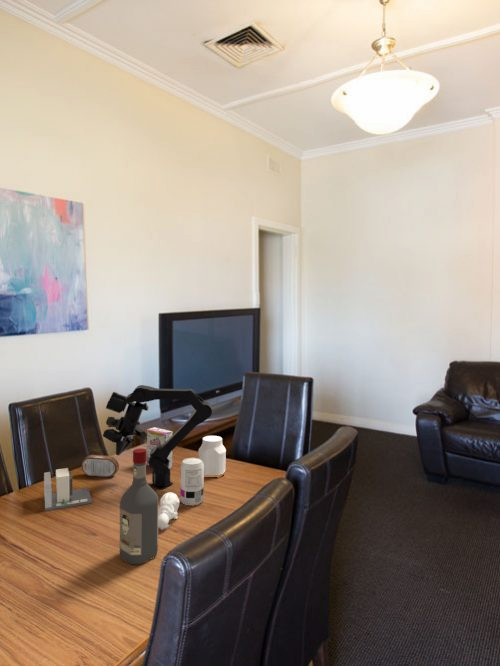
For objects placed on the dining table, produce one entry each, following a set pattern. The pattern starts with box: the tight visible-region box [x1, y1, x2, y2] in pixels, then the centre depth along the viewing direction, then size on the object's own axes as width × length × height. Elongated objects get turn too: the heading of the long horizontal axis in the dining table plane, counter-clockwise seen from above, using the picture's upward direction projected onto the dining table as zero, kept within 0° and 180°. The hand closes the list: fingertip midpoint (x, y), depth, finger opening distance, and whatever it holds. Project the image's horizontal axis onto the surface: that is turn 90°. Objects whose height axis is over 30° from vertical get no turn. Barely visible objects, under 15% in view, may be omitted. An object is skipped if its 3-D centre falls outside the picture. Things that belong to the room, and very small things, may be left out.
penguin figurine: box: [158, 491, 181, 531], centre depth 144 cm, size 6×8×12 cm
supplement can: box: [179, 457, 205, 506], centre depth 160 cm, size 8×8×15 cm
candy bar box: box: [146, 426, 174, 470], centre depth 193 cm, size 11×5×16 cm, turn 58°
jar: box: [197, 435, 227, 475], centre depth 187 cm, size 12×10×15 cm
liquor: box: [119, 448, 159, 565], centre depth 125 cm, size 9×9×30 cm
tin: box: [81, 454, 120, 478], centre depth 182 cm, size 15×3×8 cm, turn 84°
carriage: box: [55, 467, 73, 503], centre depth 157 cm, size 5×10×9 cm, turn 26°
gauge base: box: [43, 471, 93, 512], centre depth 159 cm, size 15×12×9 cm
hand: (117, 454), depth 171 cm, fingers closed
